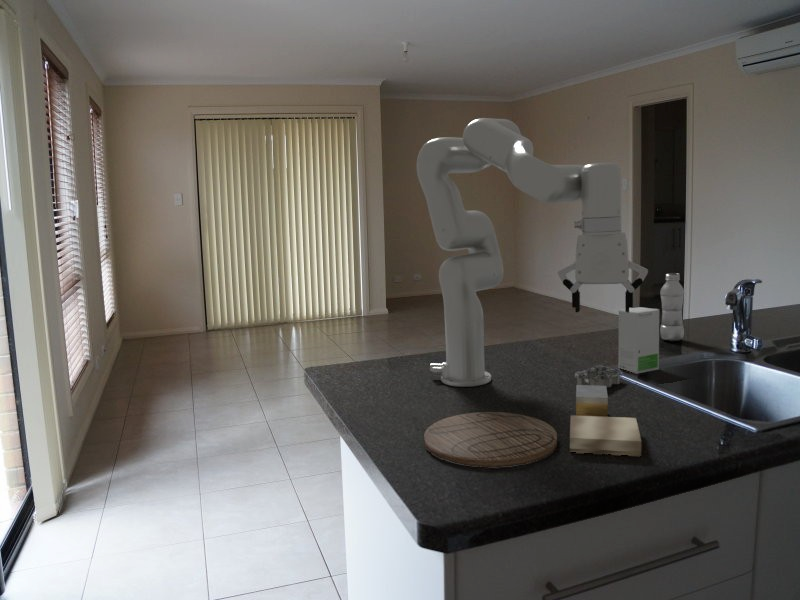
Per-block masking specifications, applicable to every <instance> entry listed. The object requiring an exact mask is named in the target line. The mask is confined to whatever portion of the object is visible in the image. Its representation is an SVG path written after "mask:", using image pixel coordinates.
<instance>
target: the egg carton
mask: <svg viewBox="0 0 800 600" xmlns="http://www.w3.org/2000/svg"><path fill="white" fill-rule="evenodd" d="M623 373H624V372H623V371H620V372H619V371H618V369H616V368H615V369H613V368H612V367H608V366H604V365H602V364H600V363H598V364H597V365H595V366H593V367H591V368H590V367H588V368H587V369H585V370H582V371H579V370H578V371H575V373H574V376H573V377H574V378H576V385H593V386H606V387H607V388H611V387H612V385H619V384H620V383H621V381H620V378H621V377H622V376H623Z"/></svg>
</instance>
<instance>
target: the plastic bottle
mask: <svg viewBox="0 0 800 600" xmlns="http://www.w3.org/2000/svg"><path fill="white" fill-rule="evenodd" d="M664 280H665V283H664V284H663V286H662V287H661V288H660V291H659V293H660V299H661V300H660V301H661V309H662V311H661V314H662V315H661V316H662V317H661V324H660V326H659V336H660V337H661V339H662V340H664V341H668V340H669V341H668V342H675V341H676V342H677V341H681V340H683V338H684V335H685V328H684V324H683V303H684V297H685V296H684V295H685V290H684V289H685V288H684V287H683V286H682V285H681V283H680V280H681V278H680V273H678V272H677V273H676V272H669V273H666V274H665V279H664Z"/></svg>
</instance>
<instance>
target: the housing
mask: <svg viewBox="0 0 800 600" xmlns="http://www.w3.org/2000/svg"><path fill="white" fill-rule="evenodd" d="M575 386H576V389H575V400H576V401H575V416H600V417H609V416H608V413H609V412H608V409H609V407H608V405H609V404H608V403H609V396H608V390H607V388H608V387H606V386H593V385H577V384H576V385H575Z"/></svg>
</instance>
